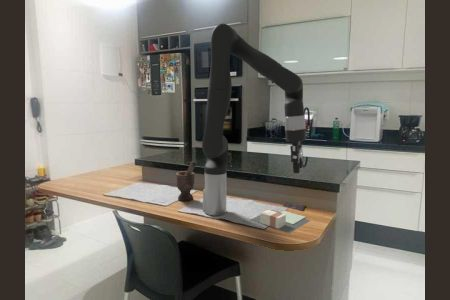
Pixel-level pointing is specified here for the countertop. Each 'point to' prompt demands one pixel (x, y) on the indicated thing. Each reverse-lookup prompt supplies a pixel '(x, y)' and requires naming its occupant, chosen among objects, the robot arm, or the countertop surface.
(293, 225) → the mat
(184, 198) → the mortar and pestle
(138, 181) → the countertop surface
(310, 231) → the countertop surface
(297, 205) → the chocolate bar
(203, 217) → the countertop surface
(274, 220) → the card box
